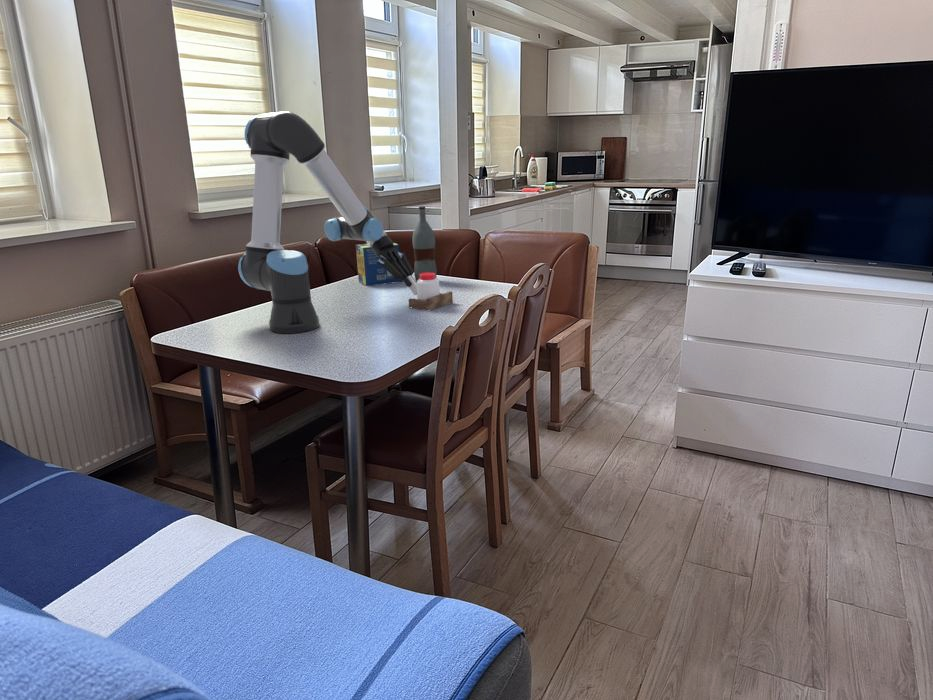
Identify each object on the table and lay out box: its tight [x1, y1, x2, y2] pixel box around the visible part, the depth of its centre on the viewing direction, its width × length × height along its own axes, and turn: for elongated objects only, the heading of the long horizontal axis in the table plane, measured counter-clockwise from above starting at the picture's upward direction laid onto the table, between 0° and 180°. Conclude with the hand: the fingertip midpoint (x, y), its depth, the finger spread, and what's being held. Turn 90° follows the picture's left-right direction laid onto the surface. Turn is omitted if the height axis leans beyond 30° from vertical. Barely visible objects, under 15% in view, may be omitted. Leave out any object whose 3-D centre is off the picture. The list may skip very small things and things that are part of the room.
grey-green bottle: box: [411, 206, 438, 282], centre depth 263 cm, size 9×9×30 cm
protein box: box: [355, 242, 401, 287], centre depth 269 cm, size 10×15×16 cm
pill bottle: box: [416, 273, 441, 300], centre depth 225 cm, size 8×8×11 cm
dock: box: [408, 290, 454, 311], centre depth 226 cm, size 13×9×4 cm
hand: (418, 292), depth 229 cm, fingers closed
